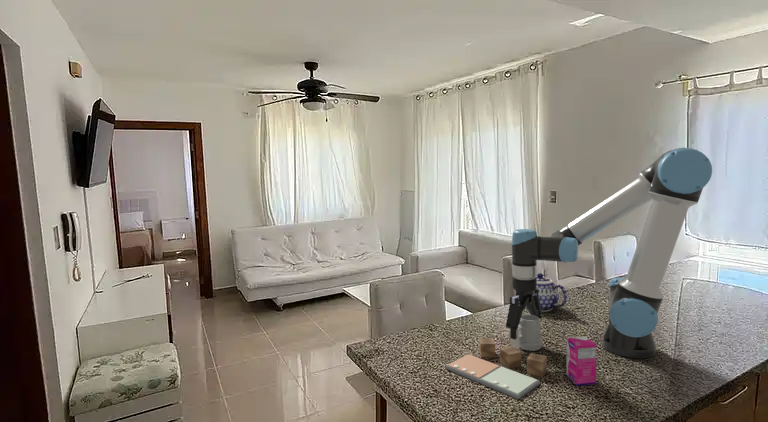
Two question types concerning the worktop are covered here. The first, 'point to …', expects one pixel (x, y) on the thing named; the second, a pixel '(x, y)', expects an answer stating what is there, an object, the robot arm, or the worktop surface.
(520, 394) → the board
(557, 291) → the teapot
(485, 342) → the walnut block
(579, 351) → the supplement box
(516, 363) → the walnut block
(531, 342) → the mug
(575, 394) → the worktop surface
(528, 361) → the walnut block
